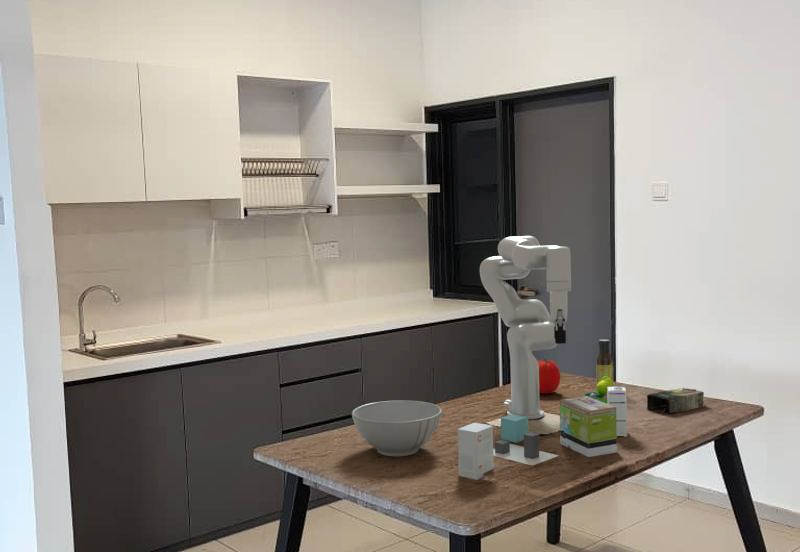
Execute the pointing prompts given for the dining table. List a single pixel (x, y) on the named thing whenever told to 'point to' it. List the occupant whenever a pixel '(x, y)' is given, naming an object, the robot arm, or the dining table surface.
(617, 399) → the syrup box
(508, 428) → the teal rectangular block
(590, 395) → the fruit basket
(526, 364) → the robot arm
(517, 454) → the board
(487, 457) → the small box
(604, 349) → the sauce bottle
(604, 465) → the dining table surface
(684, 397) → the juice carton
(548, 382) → the tomato
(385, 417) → the decorative bowl
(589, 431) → the tea box
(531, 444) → the post
